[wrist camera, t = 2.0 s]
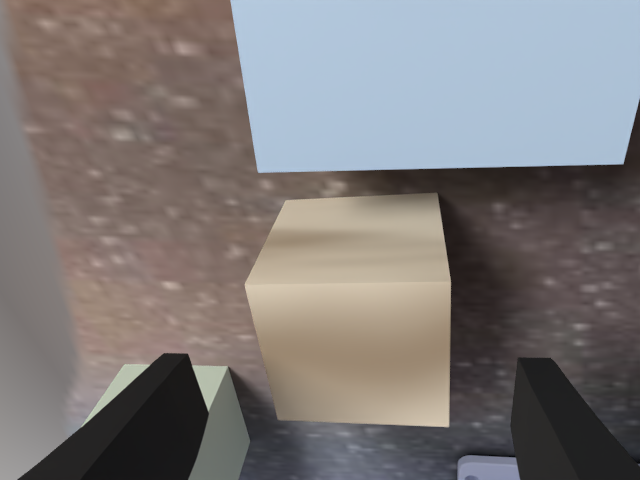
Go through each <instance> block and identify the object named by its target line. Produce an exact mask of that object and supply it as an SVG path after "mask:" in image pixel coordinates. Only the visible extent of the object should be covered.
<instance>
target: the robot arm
mask: <svg viewBox="0 0 640 480" xmlns="http://www.w3.org/2000/svg"><path fill="white" fill-rule="evenodd" d="M208 417H209V412H208V409H207V406H206V404H205V401H204V398H203V395H202V392H201V389H200V387H199V384H198V381H197V378H196V375H195V372H194V370H193V367H192V364H191V361H190V358H189V355H188V354H175V353H164V354H162V355H161V356H160V357H159V358H158V359H157V360H155V361H154V362H153V363H152V364H151V365H150V366H149V367H148V368H146V369H145V370H144V371H143V372H142V373H141V374H140V375H139V376H138V377H137V378H135V379H134V380H133V381H132V382H131V383H130V384H129V385H128V386H127V387H126V388H125V389H123V390H122V391H121V392H120V393H119V394H118V395H117V396H116V397H115V398H114V399H112V400H111V401H110V402H109V403H108V404H107V405H106V406H105V407H104V408H102V409H101V410H100V411H99V412H98V413H97V414H96V415H95V416H94V417H92V418H91V419H90V420H89V421H88V422H87V423H86V424H85V425H83V426H82V427H81V428H80V429H79V430H78V431H76V432H75V433H74V434H73V435H72V436H70V437H69V438H68V439H67V440H66V441H64V442H63V443H62V444H61V445H60V446H58V447H57V448H56V449H55V450H54V451H52V452H51V453H50V454H49V455H48V456H47V457H46V458H44V459H43V460H42V461H41V462H40V463H38V464H37V465H36V466H34V467H33V468H32V469H31V470H29V471H28V472H27V473H25V474H24V475H23V476H22V477H20V478H19V479H18V480H188V479H189V477H190V474H191V472H192V469H193V467H194V464H195V462H196V459H197V456H198V453H199V449H200V446H201V443H202V439H203V436H204V432H205V428H206V424H207V421H208ZM510 426H511V432H512V438H513V444H514V450H515V456H516V457H496V456H477V455H466V456H464V457H462V458H460V459H459V461H458V472H457V480H640V464H637V463H636V462H635V461H634V459H633V458H632V457H631V456H630V455H629V454H628V453H627V451H626V450H625V449H624V448H623V447H622V446H621V444H620V443H619V442H618V441H617V440H616V439H615V437H614V436H613V435H612V434H611V433H610V432H609V430H608V429H607V428H606V427H605V426H604V424H603V423H602V422H601V421H600V420H599V418H598V417H597V416H596V415H595V413H594V412H593V411H592V410H591V408H590V407H589V406H588V405H587V403H586V402H585V401H584V400H583V398H582V397H581V396H580V395H579V393H578V392H577V391H576V389H575V388H574V387H573V385H572V384H571V383H570V382H569V380H568V379H567V378H566V376H565V375H564V373H563V372H562V371H561V369H560V368H559V367H558V365H557V364H556V363H555V362H554V361H553V360H552V359H551V358H518V362H517V371H516V380H515V389H514V398H513V407H512V416H511V425H510Z"/></svg>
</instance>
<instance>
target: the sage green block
mask: <svg viewBox="0 0 640 480" xmlns="http://www.w3.org/2000/svg"><path fill="white" fill-rule="evenodd" d="M149 366H150V365H135V364H124V366H123V367H122V369H121V370H120V371H119V373H118V374H117V376H116V377H115V379H114V380H113V382H112V383H111V384H110V386H109V387H108V389H107V390H106V392H105V393H104V395H103V396H102V397H101V399H100V400H99V402H98V403H97V405H96V406H95V408H94V409H93V410H92V412H91V413H90V415H89V416H88V418H87V419H86V421H85V422H84V423H83V425H85V424H86V423H87V422H88V421H89V420H90V419H91V418H92V417H94V416H95V415H96V414H97V413H98V412H99V411H100V410H101V409H102V408H104V407H105V406H106V405H107V404H108V403H109V402H110V401H111V400H112V399H114V398H115V397H116V396H117V395H118V394H119V393H120V392H121V391H122V390H123V389H125V388H126V387H127V386H128V385H129V384H130V383H131V382H132V381H133V380H134V379H135V378H137V377H138V376H139V375H140V374H141V373H142V372H143V371H144V370H145V369H146V368H148V367H149ZM192 367H193V370H194V372H195V375H196V378H197V381H198V384H199V387H200V389H201V392H202V395H203V398H204V401H205V404H206V406H207V409H208V412H209V417H208V421H207V424H206V428H205V432H204V436H203V439H202V443H201V446H200V449H199V453H198V456H197V459H196V462H195V464H194V467H193V469H192V472H191V474H190V477H189V479H188V480H238V479H239V476H240V473H241V470H242V466H243V463H244V460H245V457H246V454H247V451H248V448H249V444H250V439H249V435H248V432H247V429H246V425H245V422H244V418H243V415H242V412H241V408H240V405H239V402H238V398H237V395H236V392H235V388H234V385H233V382H232V378H231V375H230V372H229V368H228V366H192ZM83 425H82V426H83ZM82 426H81V427H82Z"/></svg>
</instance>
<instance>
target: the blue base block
mask: <svg viewBox="0 0 640 480" xmlns="http://www.w3.org/2000/svg"><path fill="white" fill-rule="evenodd" d="M231 6H232V12H233V19H234V25H235V31H236V38H237V44H238V50H239V56H240V63H241V69H242V75H243V82H244V88H245V94H246V100H247V107H248V113H249V119H250V125H251V132H252V138H253V144H254V151H255V157H256V163H257V169H258V173H262V172H306V171H349V170H392V169H436V168H479V167H523V166H566V165H610V164H624V159H625V155H626V151H627V147H628V143H629V139H630V135H631V131H632V127H633V123H634V119H635V115H636V111H637V107H638V103H639V99H640V0H231Z"/></svg>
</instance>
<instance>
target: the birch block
mask: <svg viewBox="0 0 640 480" xmlns="http://www.w3.org/2000/svg"><path fill="white" fill-rule="evenodd" d="M245 289H246V293H247V297H248V301H249V305H250V309H251V313H252V317H253V321H254V325H255V329H256V333H257V337H258V341H259V345H260V349H261V353H262V357H263V361H264V365H265V369H266V374H267V378H268V382H269V386H270V390H271V394H272V398H273V402H274V406H275V410H276V414H277V418H278V420H288V421H313V422H337V423H362V424H386V425H411V426H435V427H449V389H450V318H451V278H450V272H449V265H448V259H447V252H446V246H445V239H444V233H443V226H442V220H441V213H440V207H439V200H438V194H437V193H420V194H401V195H381V196H361V197H342V198H322V199H302V200H286V201H285V203H284V205H283V207H282V209H281V211H280V213H279V215H278V217H277V219H276V221H275V223H274V226H273V228H272V230H271V232H270V234H269V236H268V238H267V240H266V242H265V244H264V246H263V248H262V250H261V252H260V254H259V256H258V258H257V260H256V262H255V264H254V266H253V269H252V271H251V273H250V275H249V277H248V279H247V281H246V283H245Z"/></svg>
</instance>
